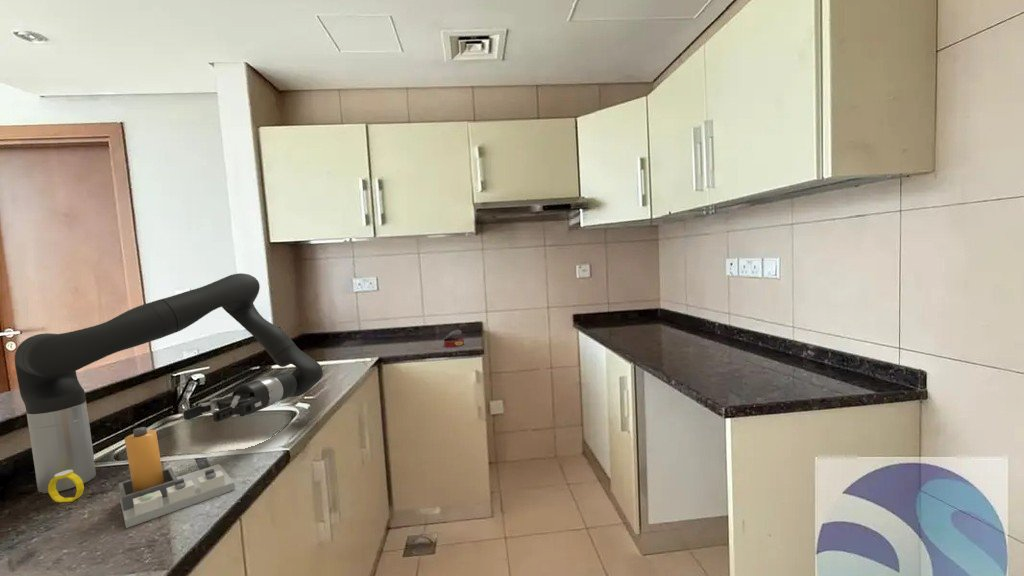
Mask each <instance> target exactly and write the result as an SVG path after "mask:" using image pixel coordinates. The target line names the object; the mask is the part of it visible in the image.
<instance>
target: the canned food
mask: <svg viewBox="0 0 1024 576" xmlns="http://www.w3.org/2000/svg"><path fill="white" fill-rule="evenodd" d="M462 333H463V332H462V330H460V329H455V330H452V331H449V333H448V334H447V335H446V336H445V337H444V338H443V343H444V344H443V346H444V347H445V348H458V347H462V346H464V345H465V342H464V341H465V339H464V338H463V337H459V336H460V335H461V334H462Z"/></svg>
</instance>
